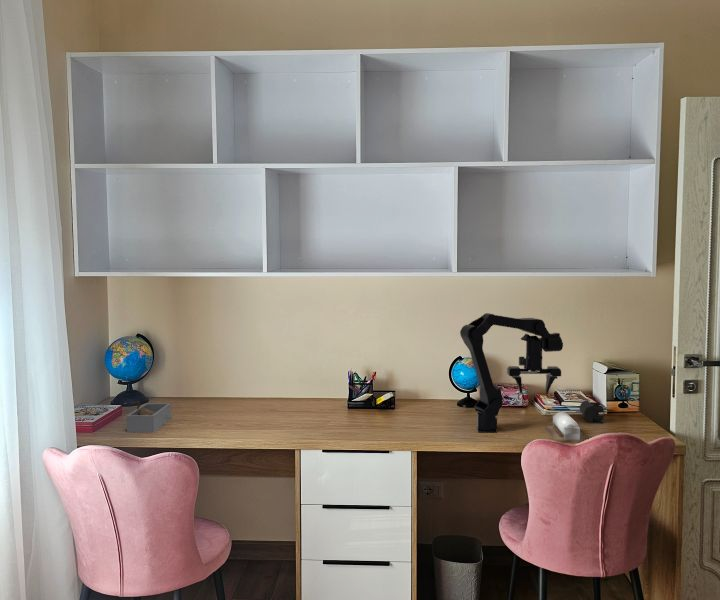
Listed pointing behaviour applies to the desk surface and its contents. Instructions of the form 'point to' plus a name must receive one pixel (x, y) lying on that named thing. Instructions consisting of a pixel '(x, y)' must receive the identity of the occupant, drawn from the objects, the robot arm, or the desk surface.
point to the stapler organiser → (149, 418)
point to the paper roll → (563, 421)
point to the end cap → (592, 411)
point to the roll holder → (565, 434)
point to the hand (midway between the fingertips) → (533, 394)
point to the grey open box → (143, 410)
